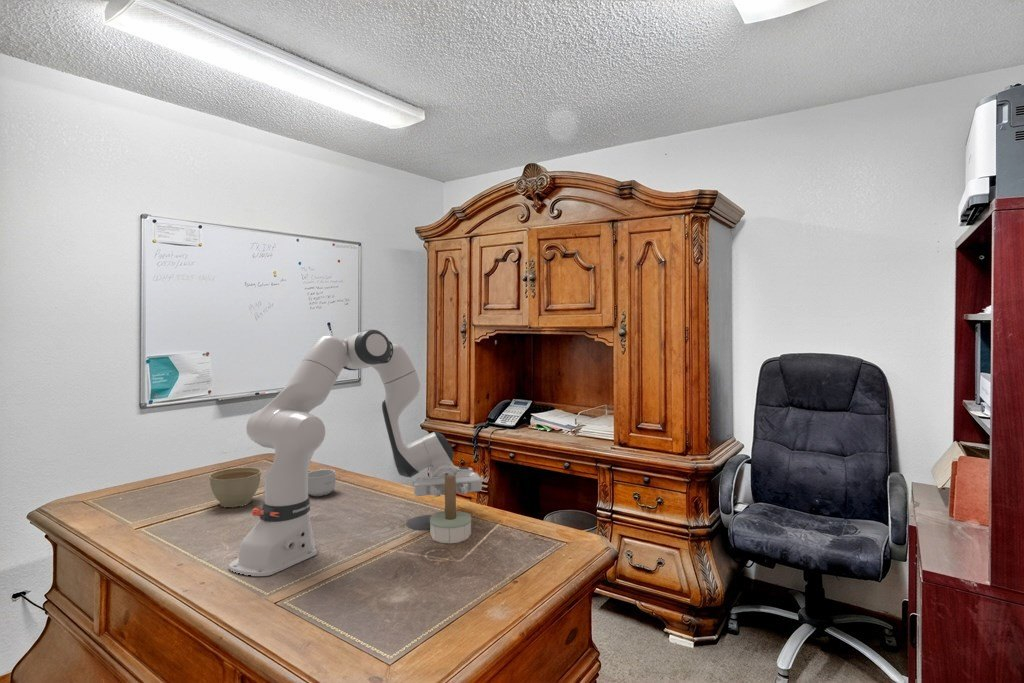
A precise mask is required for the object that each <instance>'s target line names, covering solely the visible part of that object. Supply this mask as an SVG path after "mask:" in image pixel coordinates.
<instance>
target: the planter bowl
mask: <svg viewBox="0 0 1024 683" xmlns="http://www.w3.org/2000/svg"><path fill="white" fill-rule="evenodd" d="M261 476H262V470H261V469H260V468H257V467H232V468H226V469H221V470H218V471H215V472H213V473H211V474H209V476H208V477H209V481H210V490H211V492H212V494H213V495H214V497H215V499H216V500H217V501H218V502H219V504H220V505H219V506H220V507H222V506H224V507H223V508H226V507H232V508H234V507H235V508H237V507H236V506H240V507H243V506H242V505H244V506H246V505H245V504H247V505H248V503H249V502H250V503H251V502H252V499H253V498H254V495H255V494H256V492H257V491H258V489H259V485H260V483H261ZM250 503H249V504H250Z"/></svg>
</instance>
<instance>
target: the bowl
mask: <svg viewBox="0 0 1024 683" xmlns="http://www.w3.org/2000/svg"><path fill="white" fill-rule="evenodd" d="M429 531H430V532H429V533H430V536H431V538H432V540H433V541H435V542H437V543H441V544H455V543H461V542H464V541H466V540H468V539H469V537H470V536H471V534H472V521H471V522H470V523H469V524H467V525H465V526H462V527H457V528H439V527H435V526H433V525H431V524H430V530H429Z"/></svg>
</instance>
